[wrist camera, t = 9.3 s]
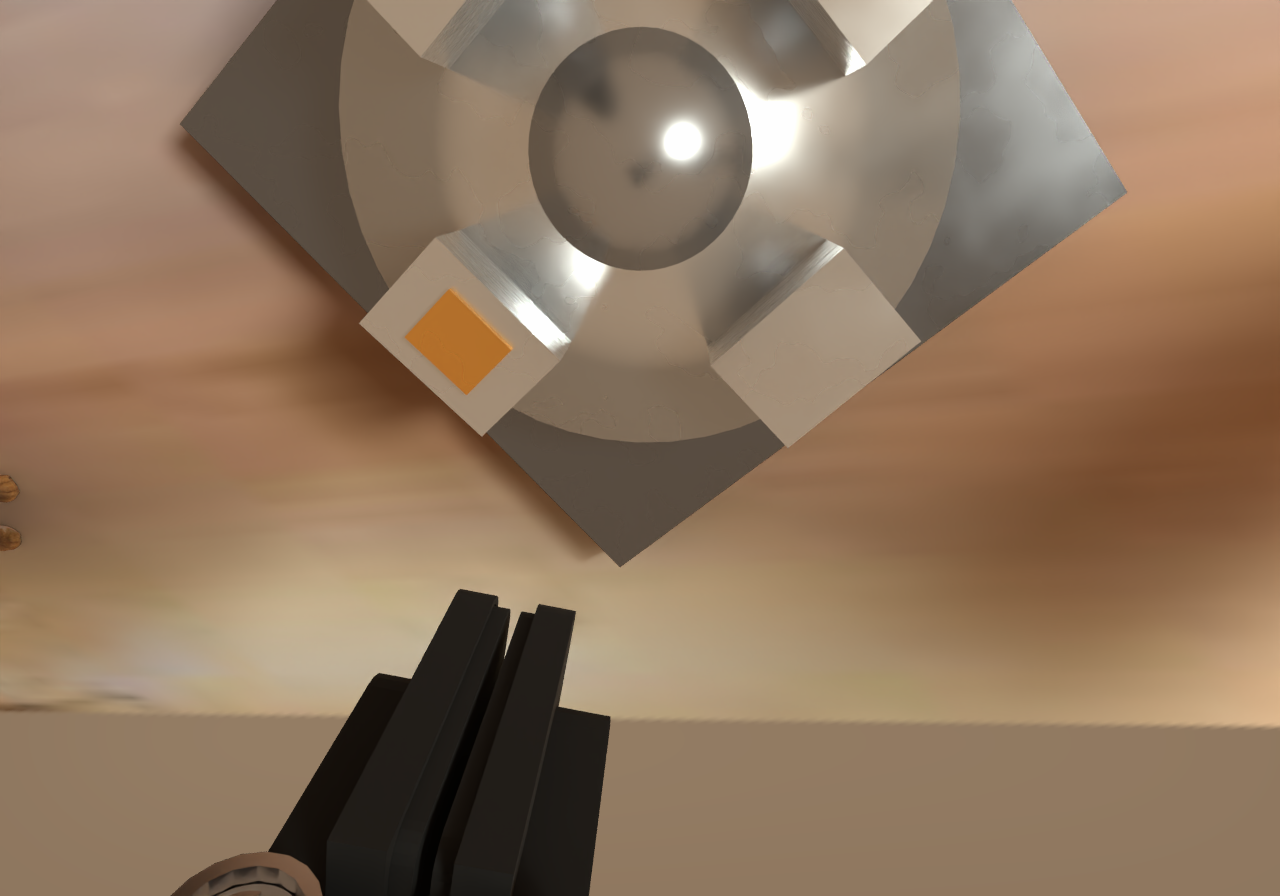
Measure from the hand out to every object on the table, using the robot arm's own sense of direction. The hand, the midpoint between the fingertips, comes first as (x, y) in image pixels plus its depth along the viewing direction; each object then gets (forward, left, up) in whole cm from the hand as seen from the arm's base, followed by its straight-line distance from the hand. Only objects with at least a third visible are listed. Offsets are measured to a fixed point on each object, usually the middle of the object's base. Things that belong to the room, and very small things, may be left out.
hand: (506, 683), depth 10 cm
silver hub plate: (-6, -4, -17) cm, 18 cm away
